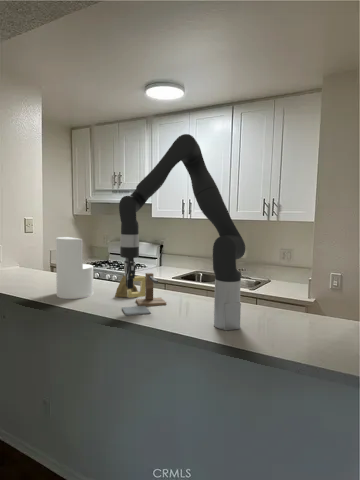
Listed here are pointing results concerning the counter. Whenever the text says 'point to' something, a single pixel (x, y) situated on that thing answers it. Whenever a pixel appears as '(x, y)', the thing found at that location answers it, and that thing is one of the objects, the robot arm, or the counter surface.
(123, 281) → the rock
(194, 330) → the counter surface
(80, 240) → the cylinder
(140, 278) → the c link
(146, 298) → the hook stand
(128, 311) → the slate mat
